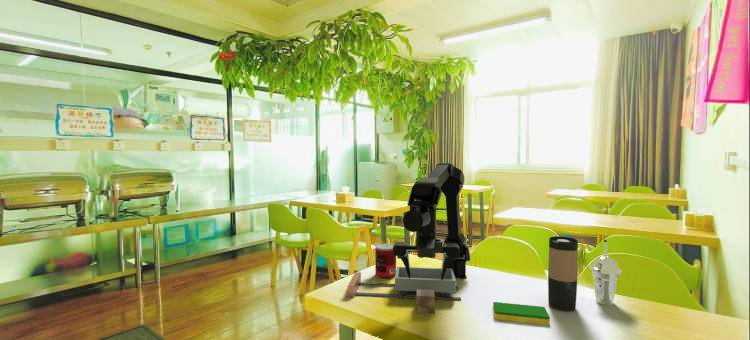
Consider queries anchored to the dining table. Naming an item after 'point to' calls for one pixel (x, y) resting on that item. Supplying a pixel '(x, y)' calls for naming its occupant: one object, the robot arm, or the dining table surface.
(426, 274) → the grey open tray
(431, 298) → the walnut block
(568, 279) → the travel mug
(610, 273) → the cup with straw
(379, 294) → the track
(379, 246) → the canned food
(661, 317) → the dining table surface
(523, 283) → the dining table surface
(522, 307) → the dish sponge
